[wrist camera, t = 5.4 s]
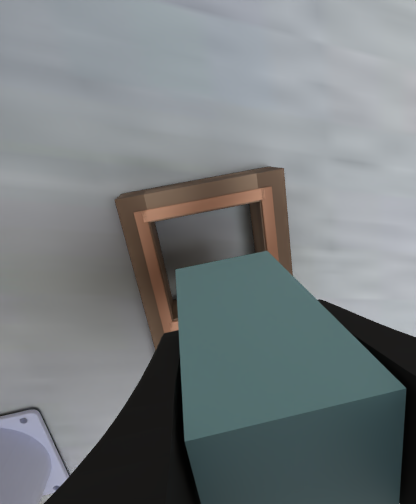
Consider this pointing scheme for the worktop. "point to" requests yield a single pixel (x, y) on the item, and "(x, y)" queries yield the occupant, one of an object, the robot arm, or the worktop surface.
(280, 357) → the peg
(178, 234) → the worktop surface
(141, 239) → the wooden double hole frame
